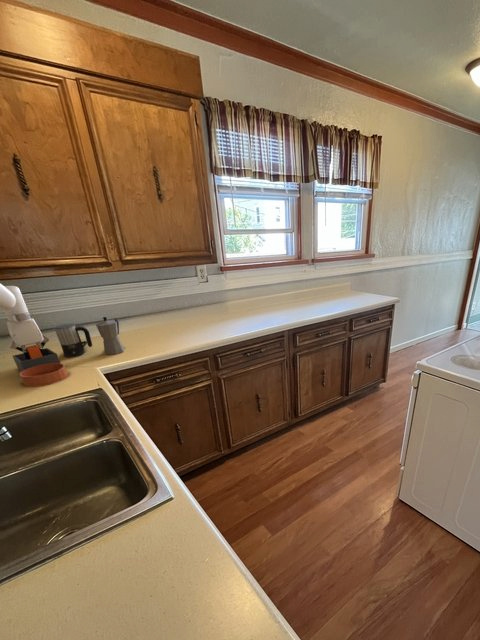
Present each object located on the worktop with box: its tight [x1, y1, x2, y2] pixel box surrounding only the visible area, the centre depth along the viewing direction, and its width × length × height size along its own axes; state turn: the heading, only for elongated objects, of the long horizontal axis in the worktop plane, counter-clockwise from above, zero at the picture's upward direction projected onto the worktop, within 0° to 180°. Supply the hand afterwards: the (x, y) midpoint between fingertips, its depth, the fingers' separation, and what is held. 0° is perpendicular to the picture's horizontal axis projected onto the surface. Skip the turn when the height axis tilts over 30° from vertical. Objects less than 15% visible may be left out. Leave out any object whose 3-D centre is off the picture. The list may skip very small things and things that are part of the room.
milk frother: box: [52, 323, 93, 358], centre depth 166 cm, size 14×16×15 cm
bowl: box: [19, 362, 69, 387], centre depth 135 cm, size 15×15×5 cm
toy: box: [26, 344, 42, 359], centre depth 143 cm, size 4×4×6 cm
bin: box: [12, 347, 61, 373], centre depth 145 cm, size 13×13×8 cm
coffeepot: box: [95, 316, 125, 356], centre depth 165 cm, size 15×9×18 cm, turn 174°
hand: (36, 358), depth 144 cm, fingers closed on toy, 4 cm apart
